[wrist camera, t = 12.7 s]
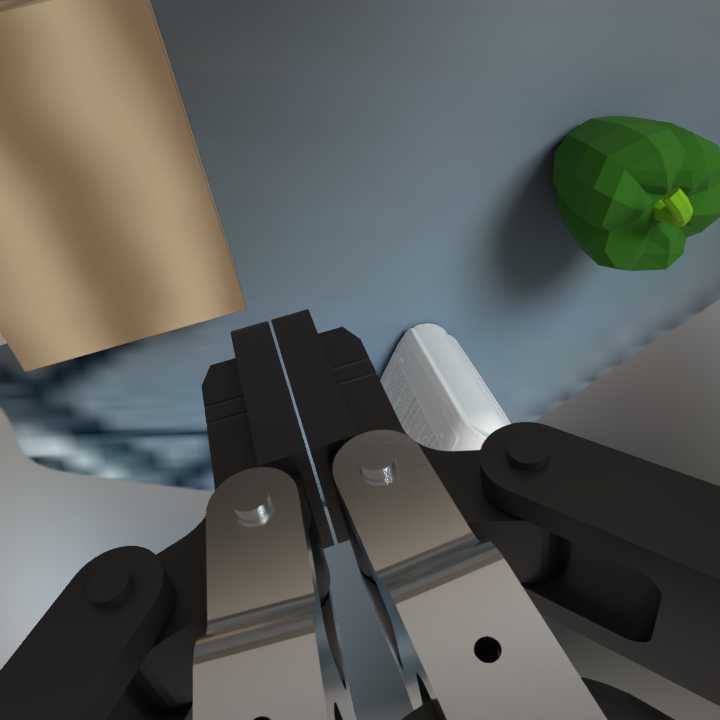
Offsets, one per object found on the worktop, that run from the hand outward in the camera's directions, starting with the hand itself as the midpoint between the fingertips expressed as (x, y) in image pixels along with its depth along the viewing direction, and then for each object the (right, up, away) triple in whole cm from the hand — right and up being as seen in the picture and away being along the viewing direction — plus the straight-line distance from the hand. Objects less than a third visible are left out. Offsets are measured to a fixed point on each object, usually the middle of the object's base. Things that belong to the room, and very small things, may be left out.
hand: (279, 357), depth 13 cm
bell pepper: (+16, +13, +29) cm, 35 cm away
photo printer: (+5, -1, +35) cm, 36 cm away
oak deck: (-13, +9, +21) cm, 26 cm away
